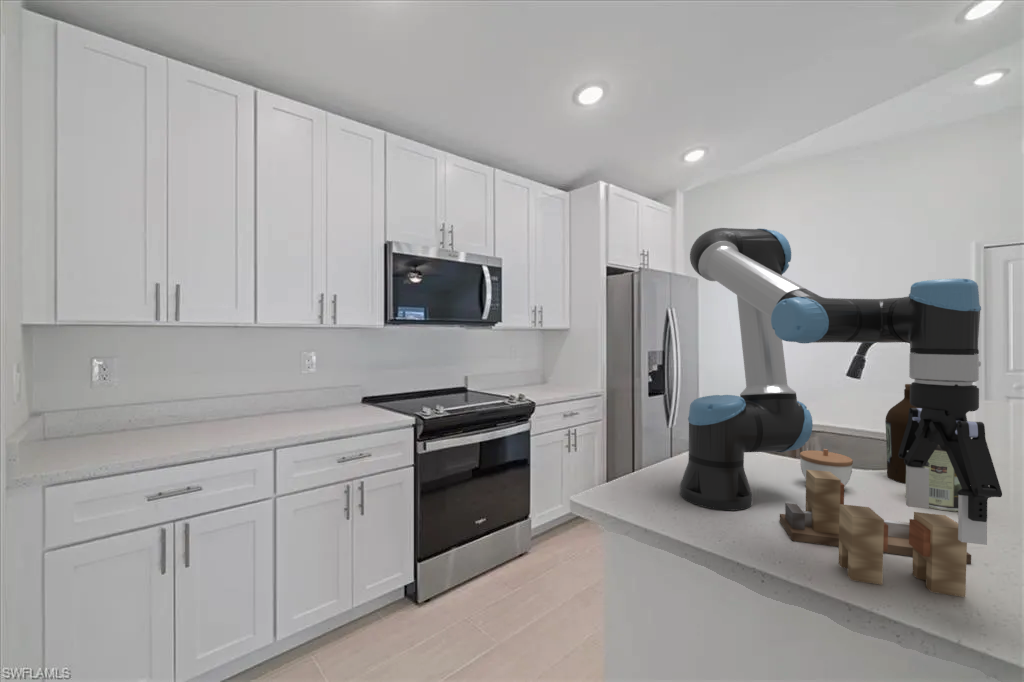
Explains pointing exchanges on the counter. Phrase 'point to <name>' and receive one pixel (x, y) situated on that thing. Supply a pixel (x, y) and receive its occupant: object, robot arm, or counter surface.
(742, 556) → the counter surface
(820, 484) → the block
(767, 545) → the counter surface
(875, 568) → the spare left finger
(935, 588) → the right finger
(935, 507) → the coffee can
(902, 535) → the rail board
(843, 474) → the lidded jar
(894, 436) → the olive oil
